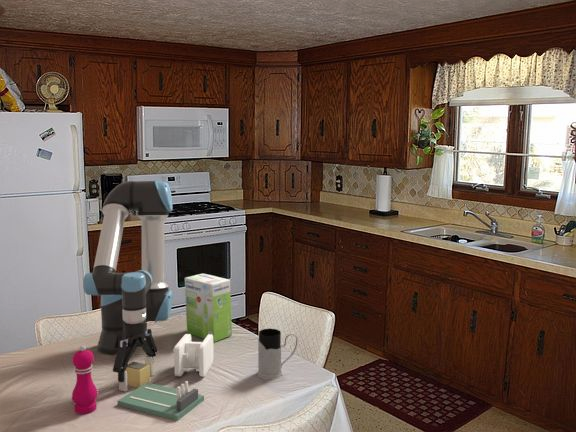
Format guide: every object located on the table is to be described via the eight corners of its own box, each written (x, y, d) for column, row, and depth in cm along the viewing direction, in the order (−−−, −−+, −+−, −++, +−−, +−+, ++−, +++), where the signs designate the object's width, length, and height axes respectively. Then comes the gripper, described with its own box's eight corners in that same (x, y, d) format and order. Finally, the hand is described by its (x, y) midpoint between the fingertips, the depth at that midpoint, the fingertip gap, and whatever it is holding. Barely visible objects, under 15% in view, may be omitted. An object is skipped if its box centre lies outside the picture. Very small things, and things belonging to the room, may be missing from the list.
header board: (117, 405, 169) (116, 382, 168) (147, 386, 181) (146, 365, 180) (177, 420, 160) (176, 396, 159) (204, 400, 172) (203, 377, 171)
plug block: (123, 384, 183) (122, 366, 183) (133, 378, 188) (132, 360, 187) (140, 388, 181) (139, 369, 180) (150, 382, 185) (149, 364, 184)
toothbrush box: (185, 333, 232) (184, 276, 228) (204, 326, 239) (203, 272, 236) (213, 343, 220) (212, 284, 217) (232, 336, 228) (231, 279, 224)
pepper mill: (76, 404, 169) (73, 341, 167) (100, 403, 170) (98, 340, 167) (69, 415, 162) (66, 350, 159) (94, 414, 163) (91, 349, 160)
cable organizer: (203, 381, 186) (202, 348, 184) (172, 379, 187) (172, 346, 185) (214, 363, 201) (213, 332, 199) (185, 362, 202) (185, 331, 200)
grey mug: (254, 369, 195) (254, 329, 193) (293, 366, 199) (294, 325, 197) (259, 380, 187) (259, 337, 185) (300, 376, 190) (300, 334, 188)
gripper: (118, 333, 169) (120, 400, 172) (167, 311, 191) (168, 370, 194) (99, 330, 172) (101, 395, 175) (149, 308, 194) (151, 366, 197)
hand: (136, 382), depth 184 cm, fingers open, 12 cm apart
